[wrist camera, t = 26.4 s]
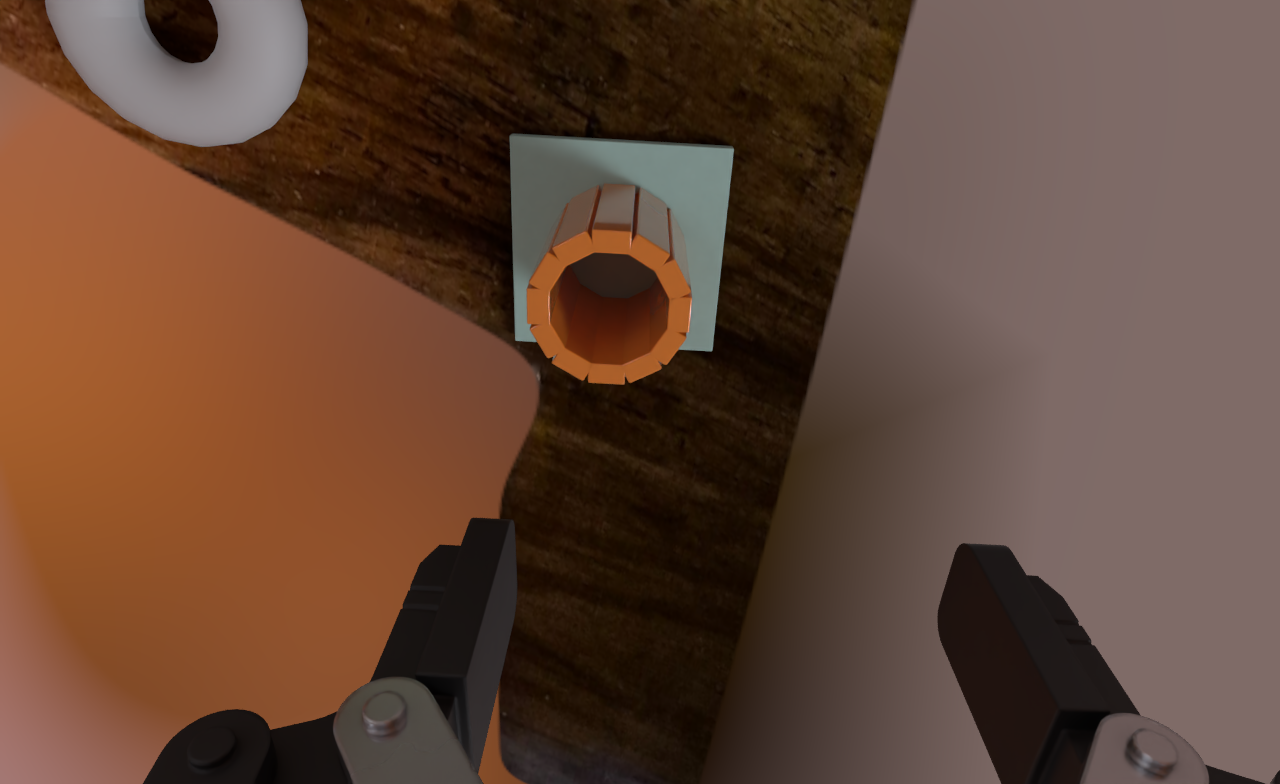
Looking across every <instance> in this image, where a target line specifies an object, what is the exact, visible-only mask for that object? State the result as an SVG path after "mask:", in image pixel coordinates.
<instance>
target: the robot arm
mask: <svg viewBox="0 0 1280 784" xmlns="http://www.w3.org/2000/svg"><path fill="white" fill-rule="evenodd" d="M516 600H517V570H516V547H515V527H514V521H513V520H509V519H487V518H472V519H471V520H470V522H469V525H468V527H467V530H466V533H465V536H464V538H463V541H462V544H461V546H455V545H439V546H438V547H437V548H436V549H435V550H434V551H433V552H432V553H431V554H429V555H428V556H427V557H426V558H425V559H424V560H423V561H422V562H421V563H420V565H419V567H418V569H417V572H416V574H415V576H414V579H413V581H412V584H411V588H410V591H408V594H407V596H406V598H405V600H404V603H403V609H401V610H400V612H399V615H398V617H397V619H396V622H395V624H394V627H393V629H392V632H391V634H390V636H389V639H388V641H387V644H386V646H385V648H384V651H383V653H382V656H381V658H380V660H379V663H378V665H377V667H376V670H375V672H374V674H373V677H372V679H371V681H370V682H369V683H367V684H365V685H364V686H362V687H360V688H359V689H357V690H356V691H354V692H353V693H352V694H351V695H350V696H348V697H347V699H346V700H345V701H344V702H343V703H342V704H341V706H340V708H339V709H338V711H337V712H335V713H333V714H330V715H328V716H326V717H323V718H319V719H316V720H312V721H308V722H303V723H299V724H294V725H290V726H286V727H282V728H277V729H272V730H270V729H269V726H268V724H267V723H266V721H265V720H264V719H263V718H262V717H261V716H259V715H258V714H256V713H254V712H251V711H247V710H238V709H235V710H225V711H220V712H216V713H213V714H210V715H207V716H205V717H202V718H200V719H198V720H196V721H194V722H193V723H191V724H189V725H188V726H187V727H185V728H184V729H182V730H181V731H180V732H179V733H177V735H175V736H174V737H173V738H172V739H171V740H170V741H169V743H168V744H167V745H166V746H165V748H164V749H163V750H162V752H161V754H160V755H159V757H158V759H157V760H156V762H155V764H154V766H153V768H152V769H151V771H150V772H149V774H148V776H147V778H146V779H145V781H144V783H143V784H483V782H482V780H481V779H480V777H479V775H478V771H479V767H480V763H481V758H482V754H483V750H484V746H485V741H486V737H487V733H488V728H489V724H490V720H491V715H492V711H493V707H494V703H495V698H496V694H497V690H498V686H499V681H500V677H501V673H502V668H503V664H504V660H505V655H506V651H507V647H508V643H509V638H510V634H511V630H512V625H513V621H514V616H515V609H516ZM938 631H939V636H940V640H941V643H942V646H943V648H944V650H945V652H946V655H947V657H948V660H949V662H950V664H951V667H952V669H953V671H954V673H955V676H956V678H957V681H958V683H959V685H960V687H961V690H962V692H963V695H964V697H965V699H966V702H967V704H968V706H969V709H970V711H971V713H972V716H973V718H974V720H975V722H976V725H977V728H978V730H979V732H980V734H981V737H982V739H983V741H984V744H985V746H986V749H987V750H988V753H989V756H990V758H991V760H992V763H993V765H994V767H995V770H996V772H997V774H998V777H999V779H1000V781H1001V784H1265V783H1262V782H1258V781H1255V780H1252V779H1249V778H1245V777H1242V776H1239V775H1235V774H1232V773H1229V772H1226V771H1223V770H1219V769H1216V768H1213V767H1210V766H1207V765H1205V764H1204V762H1203V760H1202V759H1201V757H1200V756H1199V754H1198V753H1197V752H1196V751H1195V750H1194V748H1193V747H1192V746H1191V745H1190V744H1189V743H1188V742H1187V741H1186V740H1185V739H1183V738H1182V737H1181V736H1179V735H1178V734H1177V733H1175V732H1174V731H1172V730H1171V729H1169V728H1168V727H1166V726H1164V725H1163V724H1160V723H1159V722H1157V721H1154V720H1152V719H1150V718H1146V717H1143V716H1141V715H1140V714H1139V712H1138V711H1137V709H1136V708H1135V706H1134V705H1133V703H1132V702H1131V700H1130V698H1129V697H1128V695H1127V694H1126V692H1125V691H1124V689H1123V688H1122V686H1121V685H1120V683H1119V682H1118V680H1117V679H1116V677H1115V676H1114V674H1113V673H1112V671H1111V670H1110V668H1109V667H1108V665H1107V663H1106V662H1105V660H1104V659H1103V657H1102V656H1101V654H1100V653H1099V651H1098V650H1097V648H1096V647H1095V646H1094V645H1092V644H1091V639H1090V638H1089V636H1088V635H1087V633H1086V632H1085V630H1084V629H1083V627H1082V626H1079V624H1078V619H1077V618H1076V616H1075V615H1074V613H1073V612H1072V610H1071V609H1070V607H1069V606H1068V604H1067V603H1066V601H1065V600H1064V598H1063V597H1062V596H1061V595H1060V594H1058V593H1057V592H1056V591H1055V590H1054V589H1052V588H1051V587H1050V586H1049V585H1048V584H1046V583H1045V582H1044V581H1043V580H1042V579H1041V578H1039V577H1038V576H1029V575H1028V576H1027V575H1026V574H1025V572H1024V570H1023V569H1022V567H1021V566H1020V564H1019V562H1018V561H1017V559H1016V558H1015V556H1014V555H1013V553H1012V551H1011V550H1010V549H1009V548H1008V547H1007V546H1004V545H984V544H965V543H963V544H961V545H959V547H958V548H957V550H956V552H955V555H954V559H953V562H952V565H951V569H950V572H949V575H948V578H947V582H946V585H945V588H944V591H943V595H942V598H941V601H940V605H939V609H938ZM1270 784H1280V771H1278V773H1277V774H1276V775H1275V777H1274V778H1273V780H1272V781H1271V783H1270Z"/></svg>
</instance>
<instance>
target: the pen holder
mask: <svg viewBox="0 0 1280 784" xmlns="http://www.w3.org/2000/svg"><path fill="white" fill-rule="evenodd" d="M593 253H611V254H628V255H630V256H631V257H633V258H634V259H636V260H637V261H639V262H641V263H642V264H644V265H645V266H647V267H649V268H650V269H652V270H653V271H655V273H656V275H657V279H656V280H655V281H654V283H653V284H652V286H651V287H650V288H649V289H646V290H644V291H642V292H640V293H638V294H636V295H634V296H632V297H630V298H613V297H602V296H600V295H598V294H597V293H595V292H593V291H592V290H590V289H589V288H587V287H585V286H584V285H582V284H580V282H579V280H578V278H577V277H576V275H575V273H574V271H573V270H572V268H571V266H570V264H572V263H574V262H576V261H578V260H580V259H583V258H585V257H587V256H589V255H591V254H593ZM526 291H527V324H531V326H530V331H531V333H532V334H533V336H534V338H535V339H536V341H537V342H538V344H539V346H540V347H541V349H542V350H543V352H544V354H545V355H546V357H547V358H551V357H553V360H552V363H553V364H554V365H556V366H558V367H559V368H561V369H563V370H565V371H566V372H568V373H570V374H572V375H573V376H575V377H577V378H579V379H580V380H582V381H583V380H584V379H585V377H586V376H587V375H588V382H589V383H606V384H624V383H625V376H626V378H627V380H628V382H629V383H631V382H634V381H636V380H638V379H640V378H643V377H645V376H647V375H649V374H652V373H654V372H656V371H658V370H661V369H662V363H663V364H664V365H667V364H668V363H669V361H670V360H671V359H672V357H673V356H674V355H675V353H676V352H677V351H678V349H679V348H680V347H681V345H682V344H683V343H684V341H685V340H686V338H687V336H686V333H689V330H690V319H691V309H692V292H691V284H690V276H689V268H688V260H687V253H686V245H685V240H684V234H683V232H682V230H681V228H680V226H679V224H678V222H677V220H676V218H675V216H674V214H673V212H672V210H671V209H668V210H667V205H666V203H664V202H663V201H661V200H660V199H658V198H657V197H655V196H654V195H652V194H651V193H649V192H647V191H646V190H644V189H643V188H639V190H638V191H637V193H636V186H635V185H624V184H607V183H604V184H603V187H602V190H601V188H600V186H599V185H596V186H594V187H592V188H590V189H589V190H587V191H585V192H583V193H581V194H579V195H577V196H575V197H573V198H571V200H570V202H569V203H566V204H565V206H564V207H563V209H562V211H561V212H560V214H559V216H558V217H557V219H556V221H555V222H554V224H553V226H552V227H551V230H550V232H549V234H548V237H547V239H546V241H545V244H544V246H543V249H542V251H541V253H540V256H539V258H538V261H537V263H536V265H535V268H534V270H533V273H532V275H531V277H530V280H529V284H528V287H527V289H526Z"/></svg>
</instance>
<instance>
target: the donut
mask: <svg viewBox="0 0 1280 784" xmlns="http://www.w3.org/2000/svg"><path fill="white" fill-rule="evenodd" d="M209 2H210V4H211V5H212V7H213V10H214V13H215V16H216V19H217V22H218V39H217V43H216V47H215V50H214V51H213V52H212V54H211V55H210V56H209V58H208V59H207V60H205V61H203V62H199V63H187V62H183V61H181V60H180V59H178V58H176V57H174V56H172V55H170V54H169V53H168V52H167V51H166V50H165V49H164V48H163V47H162V46H161V45H160V44H159V42H158V41H157V39H156V38H155V36H154V35H153V33H152V32H151V29H150V27H149V24H148V21H147V19H146V16H145V6H144V0H45V4H46V10H47V15H48V17H49V20H50V22H51V24H52V27H53V29H54V31H55V34H56V36H57V38H58V41H59V43H60V45H61V48H62V50H63V52H64V54H65V56H66V57H67V59H68V60H69V61H70V63H71V64H72V65H73V67H74V68H75V69H76V71H77V72H78V73H79V75H80V76H81V77H82V79H83V80H84V82H85V83H86V84H87V86H88V87H89V88H90V90H91V91H93V92H94V93H95V94H96V95H97V96H98V97H100V98H101V99H102V100H103V101H104V102H105V103H107V104H108V105H109V106H110V107H111V108H112V109H113V110H115V111H116V112H117V113H118V114H119V115H120V116H122V117H123V118H124V119H126V120H128V121H129V122H131V123H133V124H135V125H137V126H139V127H141V128H143V129H145V130H147V131H149V132H151V133H153V134H155V135H157V136H159V137H161V138H163V139H165V140H170V141H175V142H180V143H185V144H190V145H194V146H199V147H209V146H218V145H226V144H235V143H243V142H245V141H246V140H248V139H250V138H252V137H254V136H256V135H258V134H260V133H262V132H263V131H265V130H267V129H269V128H271V127H272V126H273V125H274V124H276V122H277V121H278V120H279V119H280V118H281V116H282V115H283V114H284V113H285V111H286V110H287V109H288V108H289V107H290V105H291V104H292V103H293V102H294V101H295V99H296V98H297V95H298V92H299V89H300V86H301V83H302V80H303V77H304V74H305V71H306V68H307V65H308V24H307V21H306V17H305V14H304V10H303V7H302V3H301V0H209Z"/></svg>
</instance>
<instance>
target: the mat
mask: <svg viewBox="0 0 1280 784" xmlns="http://www.w3.org/2000/svg"><path fill="white" fill-rule="evenodd" d="M733 152H734V149H733V147H732V146H721V145H704V144H687V143H669V142H652V141H634V140H617V139H599V138H582V137H564V136H547V135H529V134H511V135H510V167H511V204H512V241H513V279H514V316H515V340H516V341H532V342H537V341H536V339H535V338H534V336H533V334H532V333H531V331H530V326H531V324H527V291H526V289H527V287H528V284H529V280H530V277H531V275H532V273H533V270H534V268H535V265H536V263H537V261H538V258H539V256H540V253H541V251H542V249H543V246H544V244H545V241H546V239H547V237H548V234H549V232H550V230H551V227H552V226H553V224H554V222H555V221H556V219H557V217H558V216H559V214H560V212H561V211H562V209H563V207H564V206H565V204H566V203H569V202H570V200H571V198H573V197H575V196H577V195H579V194H581V193H583V192H585V191H587V190H589V189H590V188H592V187H594V186H596V185H599V186H600V188H601V190H602V187H603V184H604V183H607V184H624V185H635V186H636V193H637V191H638V190H639V188H643V189H644V190H646V191H647V192H649V193H651V194H652V195H654V196H655V197H657V198H658V199H660V200H661V201H663V202H664V203H666V205H667V210H668V209H671V210H672V212H673V214H674V216H675V218H676V220H677V222H678V224H679V226H680V228H681V230H682V232H683V234H684V240H685V245H686V253H687V260H688V268H689V276H690V284H691V292H692V309H691V319H690V330H689V333H686V336H687V338H686V340H685V341H684V343H683V344H682V345H681V347H680V348H679V349H680V350H699V351H712V348H713V338H714V329H715V320H716V310H717V301H718V292H719V282H720V273H721V264H722V254H723V245H724V236H725V227H726V217H727V208H728V199H729V189H730V180H731V171H732V161H733ZM570 266H571V268H572V270H573V271H574V273H575V275H576V277H577V278H578V280H579V282H580V284H582V285H584V286H585V287H587V288H589V289H590V290H592V291H593V292H595V293H597V294H598V295H600V296H602V297H613V298H630V297H632V296H634V295H636V294H638V293H640V292H642V291H644V290H646V289H649V288H650V287H651V286H652V284H653V283H654V281H655V280H656V279H657V275H656V273H655V271H653V270H652V269H650V268H649V267H647V266H645V265H644V264H642V263H641V262H639V261H637V260H636V259H634V258H633V257H631V256H630V255H628V254H611V253H593V254H591V255H589V256H587V257H585V258H583V259H580V260H578V261H576V262H574V263H572V264H570Z"/></svg>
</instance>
